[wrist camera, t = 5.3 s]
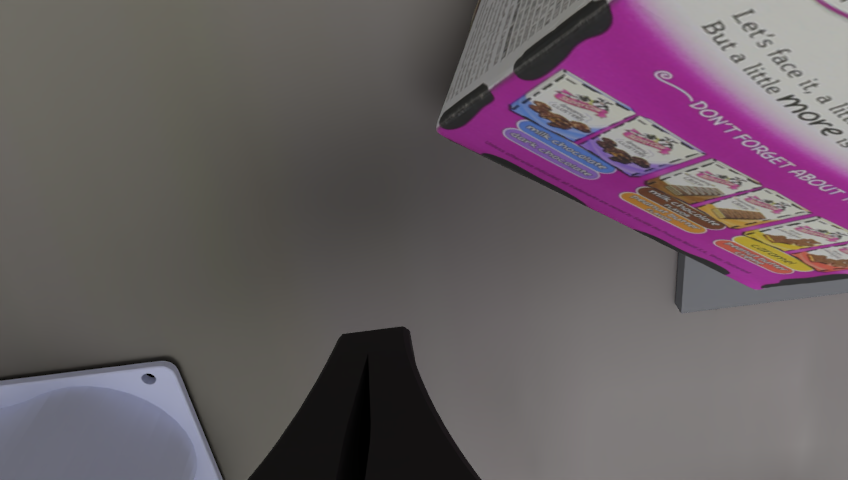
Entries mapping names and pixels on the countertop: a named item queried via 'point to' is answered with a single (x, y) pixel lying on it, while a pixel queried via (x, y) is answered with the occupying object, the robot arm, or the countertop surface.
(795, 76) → the candy bar box
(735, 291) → the mat
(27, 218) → the countertop surface
